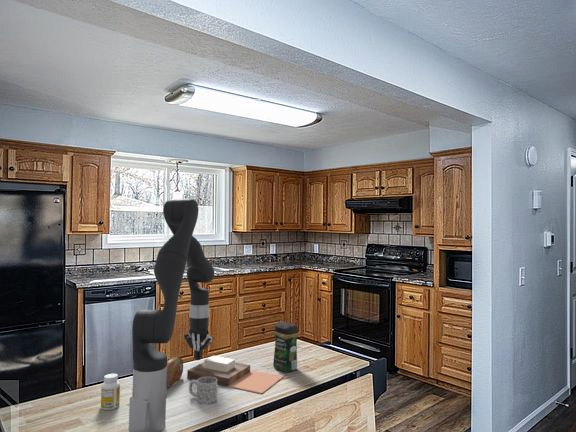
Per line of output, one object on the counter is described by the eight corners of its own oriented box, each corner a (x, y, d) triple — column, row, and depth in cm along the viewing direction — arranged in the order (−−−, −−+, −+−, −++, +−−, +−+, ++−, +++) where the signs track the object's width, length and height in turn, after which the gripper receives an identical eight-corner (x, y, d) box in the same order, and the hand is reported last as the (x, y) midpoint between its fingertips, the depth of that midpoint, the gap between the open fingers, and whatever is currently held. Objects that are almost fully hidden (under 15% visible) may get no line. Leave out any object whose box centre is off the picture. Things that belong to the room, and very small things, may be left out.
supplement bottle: (113, 401, 138) (114, 371, 138) (122, 406, 135) (123, 375, 135) (97, 406, 134) (98, 375, 134) (106, 412, 131) (107, 380, 131)
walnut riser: (228, 386, 153) (228, 378, 153) (187, 378, 160) (187, 370, 160) (250, 372, 167) (250, 365, 168) (211, 365, 175) (211, 358, 175)
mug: (220, 398, 143) (220, 378, 143) (210, 405, 137) (210, 385, 137) (194, 393, 147) (195, 373, 147) (183, 400, 140) (184, 380, 140)
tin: (164, 392, 147) (165, 367, 147) (156, 391, 148) (156, 366, 148) (183, 376, 162) (184, 354, 162) (176, 376, 162) (176, 353, 162)
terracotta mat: (261, 394, 147) (261, 392, 147) (228, 386, 153) (228, 385, 153) (283, 377, 164) (283, 376, 164) (252, 371, 169) (252, 370, 169)
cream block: (226, 372, 159) (226, 364, 159) (204, 367, 163) (204, 359, 163) (234, 367, 165) (235, 359, 165) (213, 363, 169) (213, 355, 169)
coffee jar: (269, 367, 174) (271, 322, 174) (283, 363, 180) (284, 319, 180) (286, 374, 167) (288, 326, 167) (300, 369, 173) (301, 323, 173)
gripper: (179, 315, 167) (178, 359, 167) (207, 319, 162) (206, 365, 162) (191, 311, 174) (189, 354, 174) (218, 315, 169) (217, 359, 169)
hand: (197, 359), depth 168 cm, fingers closed
